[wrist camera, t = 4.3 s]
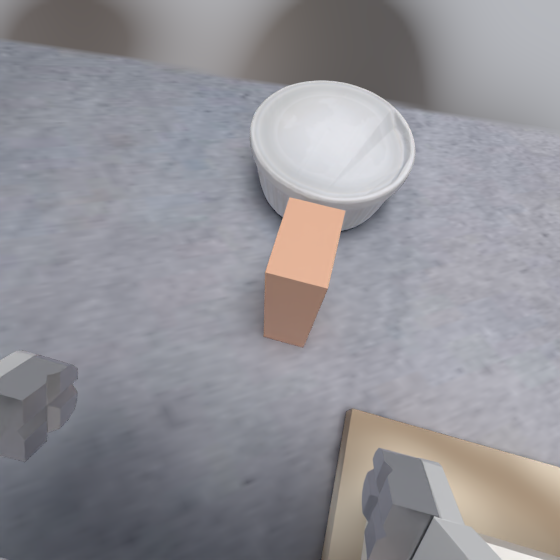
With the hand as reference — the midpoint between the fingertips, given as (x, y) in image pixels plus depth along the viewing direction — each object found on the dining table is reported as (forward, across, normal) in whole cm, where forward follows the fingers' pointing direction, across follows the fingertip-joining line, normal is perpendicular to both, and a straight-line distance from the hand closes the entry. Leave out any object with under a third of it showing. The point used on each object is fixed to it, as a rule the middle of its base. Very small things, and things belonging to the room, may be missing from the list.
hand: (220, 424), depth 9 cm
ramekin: (+22, -1, -5) cm, 23 cm away
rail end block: (+14, -1, +3) cm, 14 cm away
